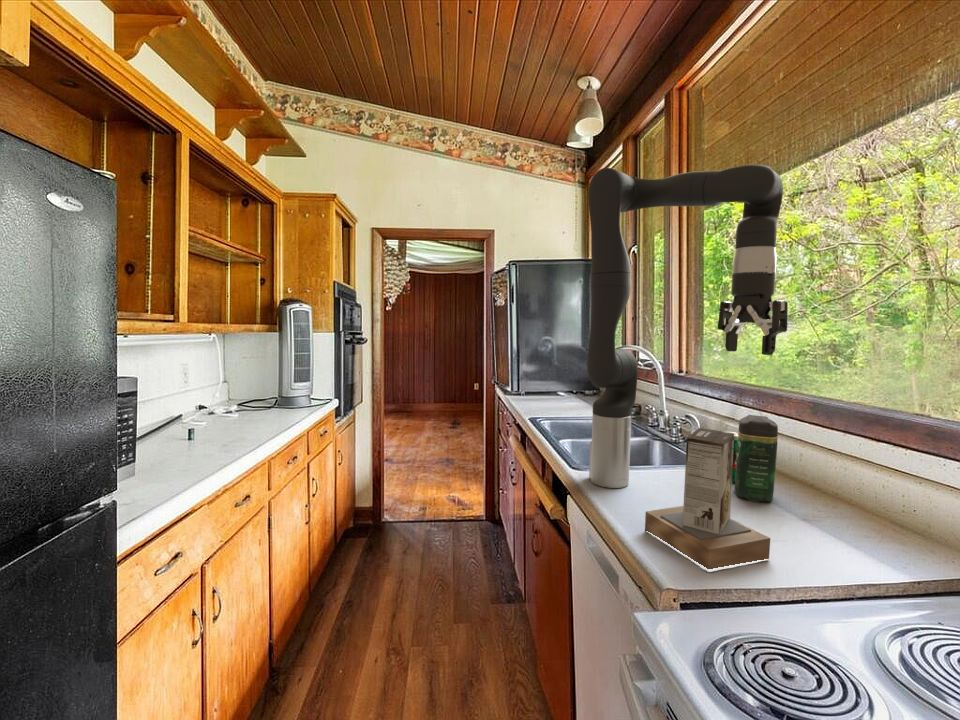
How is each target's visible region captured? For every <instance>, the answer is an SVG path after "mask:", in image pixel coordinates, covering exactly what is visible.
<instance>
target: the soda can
mask: <svg viewBox="0 0 960 720" xmlns="http://www.w3.org/2000/svg"><path fill="white" fill-rule="evenodd" d="M725 432H726V433H734V434H735V435H734V454H733V474H732V484H735V476H736V462H737V447H738V432H734V431H725Z"/></svg>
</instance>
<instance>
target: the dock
mask: <svg viewBox="0 0 960 720" xmlns="http://www.w3.org/2000/svg"><path fill="white" fill-rule="evenodd" d="M644 520H645V523H644V531H645V530H646V531H648V532H650V533H652V534H653V535H655V536H657V537H659V538H660V539H662V540H663V541H665V542H667V543H668V544H670V545H671V546H673V547H674V548H676V549H677V550H679V551H680V552H682V553H683V554H685V555H687V556H688V557H690V558H691V559H693V560H694V561H696V562H698V563H699V564H701V565H703V566H704V567H706V568H707V569H713V568H718V567H724V566H729V565H735V564H740V563H746V562H752V561H757V560H764V559H769V560H770V553H771V552H770V549H771V537H769V536H767V535H765V534H763V533H761V532H759V531H757V530H755V529H753V528H750V527H749V526H747V525H744V524H743V523H741V522H738V521H737V520H735V519H733V518H731V517H730V518H729V520H728V522H727V523H726V525H725V527H724V528H723V530H722V532H721V533H720V534H719V535H718V534H714V533H710V532H706V531H703V530H699V529H695V528H691V527H687V526H684V525H683V505H679V506H674V507H672V506H671V507H665V508H659V509H653V510H646V511H645V519H644Z"/></svg>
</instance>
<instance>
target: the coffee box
mask: <svg viewBox="0 0 960 720" xmlns="http://www.w3.org/2000/svg"><path fill="white" fill-rule="evenodd" d="M726 432H727V431H721V430H716V429H709V428H697V429H696V430H694V432H692V433H691V434H690V435H689V436H688V437H686V445H685V446H686V449H685V450H686V451H685V469H684V490H683V491H684V492H683V504H682V506H683V525H684V526H687V527H691V528H695V529H699V530H703V531H706V532H710V533H714V534H718V535H719V534H720V533H721V532H722V530H723V528H724V527H725V525H726V523H727V522H728V520H729V518H730V519H731V509H732V508H731V507H732V491H733V490H732V489H733V483H732V474H733V454H734V435H735V434H734V433H735V432H734V433H726Z"/></svg>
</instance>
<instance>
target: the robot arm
mask: <svg viewBox="0 0 960 720" xmlns="http://www.w3.org/2000/svg"><path fill="white" fill-rule="evenodd" d="M783 195H784V184H783V180H782V178H781V177H780V175H779V174H778V173H777V172H776V171H774V170H773V169H772V167H770V166H767V165H765V164H745V165H740V166H739V165H738V166H735V167H730V168H725V169H721V170H717V169H716V170H700V171H688V172H683V173H682V172H681V173H678V174H674V175H671V176H667V177H662V178H654V179H653V178H651V179H650V178H649V179H648V178H638V177H631V176H629V174H626V173H624V172H622V171H620V170H618V169H615V168H612V167H603V168H601V169H599V170H598V171H596V172H595V173H594V174H593V176H592V177H591V179H590V181H589V184H588V191H587V197H588V198H587V199H588V210H589V211H588V213H589V221H590V232H591V234H590V235H591V236H590V239H591V240H590V241H591V245H590V246H591V248H590V249H591V252H590V253H591V256H590V257H591V267H590V268H591V269H590V298H591V299H590V300H591V305H590V328H589V329H590V330H589V338H588V339H589V340H588V349H587V357H586V358H587V359H586V371H587V375H588V379H589V381H590V382H591V384H592V385H593V386H595V387H596V388H599V389H600V388H601V389H603V388H604V391H603V393H602V394H601V395H600V396H599V397H598V398H596V400H594V401H593V403H592V404H593V405H592V419H591V420H592V421H591V423H592V424H591V425H592V427H591V440H590V442H589V468H588V469H589V471H588V473H589V474H588V477H589V479H590V482H591V483H592V484H594V485H596V486H599V487H603V488H609V489H610V488H611V489H621V488H625V487H627V486H628V485H629V481H630V461H631V460H630V459H631V458H630V456H631V440H632V439H631V435H632V433H631V432H632V410H633V408H634V405H635V403H636V397H637V386H638V376H639V375H638V374H639V373H638V372H639V368H638V362H637V359H636V357H635V355H634V354H633V353H632V352H631V351H630V350H628V349H626V348H616V335H617V327H618V324H619V321H620V319H621V317H622V315H623V312H624V311H625V309H626V307H627V305H628V302H629V299H630V296H631V288H632V287H631V285H632V284H631V282H632V281H631V280H632V279H631V278H632V270H631V269H632V268H631V262H630V257H629V254H628V251H627V248H626V245H625V242H624V238H623V235H622V234H623V233H622V231H621V229H622V227H621V213H627V212H632V211H636V210H641V209H642V210H643V209H648V208H659V207H714V206H720V205H722V204H724V203H743V211H742V219H741V220H740V221H739V222H738V224H737V226H736V233H735V246H734V247H735V248H734V249H735V250H734V254H733V259H732V273H731V274H732V275H731V295H732V296H733V299H732V300H733V301H721V302H720V303H719V311H718V321H717V329H718V330H721V331H723V332H724V334H725V343H724V344H725V345H724V346H725V349H726V350H725V351H726V352H736V351H738V339H739V336H738V335H739V334H738V332H739V330H740V329H741V327H742V326H744V325H745V324H747V323H750V324H751V323H753V324H756V326H758V328H760V329H761V331H762V333H763V334H764V335H762V340H761V341H762V343H761V355H763V356H772V355H773V354H774V352H775V351H776V341H777V336H778V334H782V333H786V332H787V331H788V313H789V312H788V303H789V302H788V301H787V300H781V299H780V300H779V299H778V300H777V299H776V300H772V296H774V294H775V288H776V287H775V286H776V273H777V250H776V249H777V248H776V246H777V237H778V236H777V233H778V231H777V229H778V228H777V227H778V225H777V224H778V219H779V215H780V212H781V209H782V208H781V207H782V202H783ZM770 312H771V313H770Z"/></svg>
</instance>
